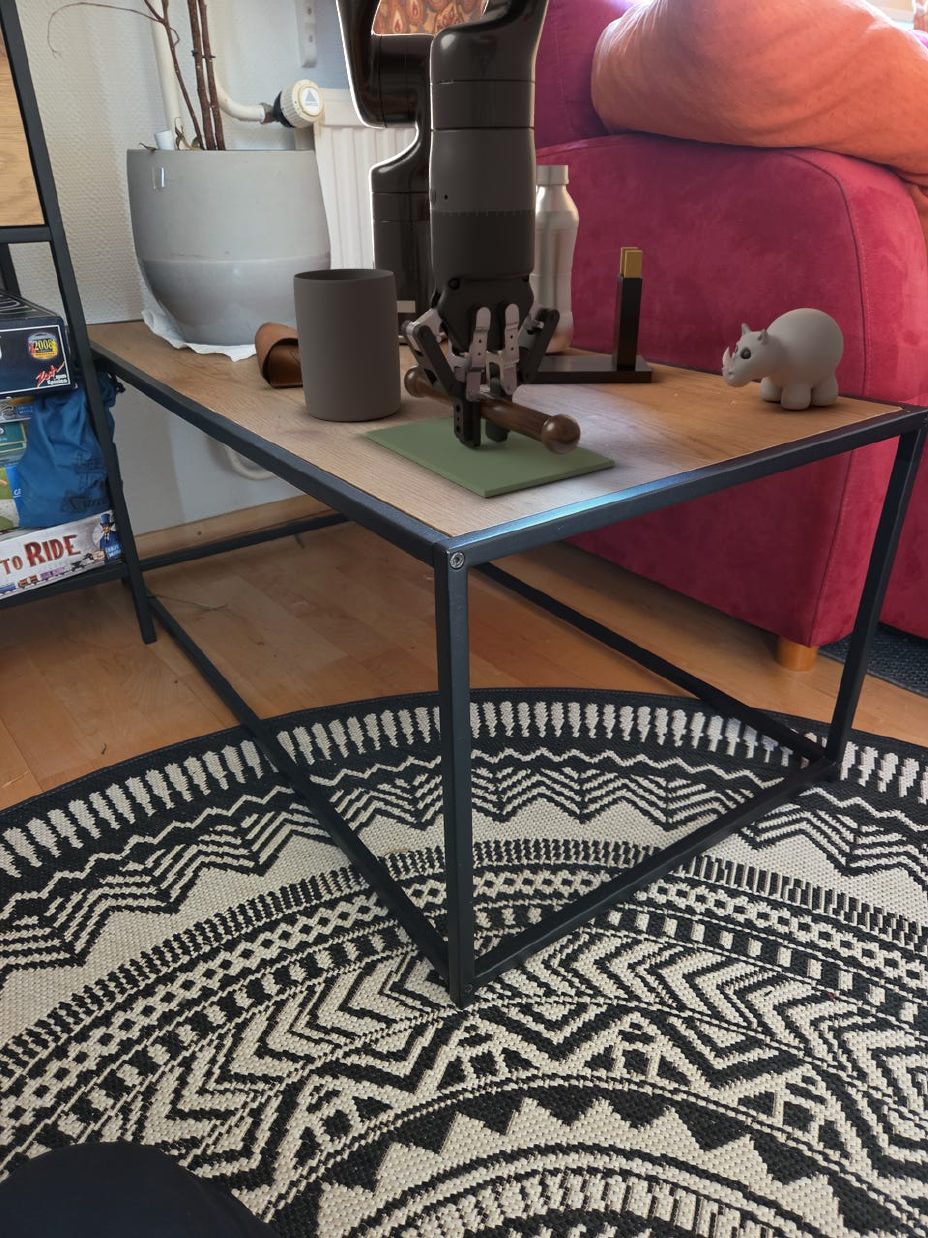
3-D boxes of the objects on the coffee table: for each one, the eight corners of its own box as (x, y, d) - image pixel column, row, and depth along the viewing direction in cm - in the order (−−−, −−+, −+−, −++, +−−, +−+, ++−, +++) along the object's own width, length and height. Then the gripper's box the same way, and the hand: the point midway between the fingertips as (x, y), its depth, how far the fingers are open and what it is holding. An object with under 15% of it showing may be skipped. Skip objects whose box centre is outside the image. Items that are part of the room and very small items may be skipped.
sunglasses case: (344, 377, 90) (306, 322, 87) (290, 416, 91) (250, 363, 87) (324, 346, 106) (291, 298, 102) (278, 379, 106) (243, 333, 102)
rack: (471, 366, 97) (470, 247, 91) (640, 366, 96) (650, 245, 90) (469, 383, 90) (468, 254, 84) (651, 382, 89) (663, 252, 83)
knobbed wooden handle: (556, 462, 59) (558, 422, 58) (399, 396, 76) (397, 364, 74) (587, 454, 60) (589, 415, 59) (426, 391, 77) (424, 360, 76)
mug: (410, 417, 78) (404, 277, 72) (310, 426, 76) (295, 282, 70) (385, 384, 90) (378, 261, 84) (297, 391, 88) (284, 265, 82)
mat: (366, 437, 73) (365, 431, 73) (482, 415, 79) (482, 409, 78) (484, 498, 60) (484, 491, 59) (614, 466, 65) (614, 460, 65)
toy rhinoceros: (694, 402, 82) (704, 308, 78) (800, 391, 85) (815, 300, 81) (737, 421, 76) (751, 321, 72) (849, 408, 79) (869, 311, 75)
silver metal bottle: (508, 350, 105) (510, 165, 95) (557, 345, 107) (564, 164, 97) (532, 360, 99) (537, 165, 90) (583, 355, 102) (593, 164, 92)
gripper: (426, 209, 54) (434, 470, 63) (592, 201, 61) (579, 438, 69) (371, 205, 60) (385, 445, 68) (529, 198, 67) (524, 418, 75)
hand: (483, 441), depth 69 cm, fingers closed on knobbed wooden handle, 2 cm apart
